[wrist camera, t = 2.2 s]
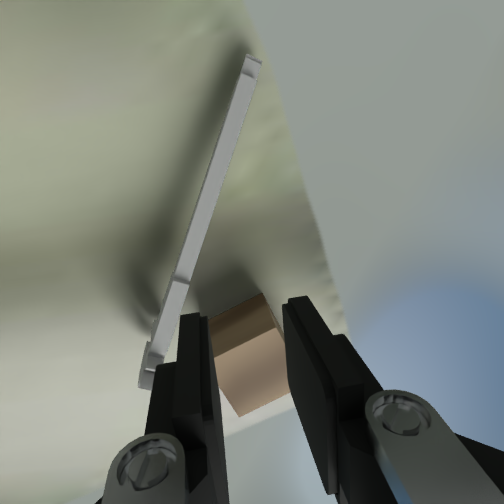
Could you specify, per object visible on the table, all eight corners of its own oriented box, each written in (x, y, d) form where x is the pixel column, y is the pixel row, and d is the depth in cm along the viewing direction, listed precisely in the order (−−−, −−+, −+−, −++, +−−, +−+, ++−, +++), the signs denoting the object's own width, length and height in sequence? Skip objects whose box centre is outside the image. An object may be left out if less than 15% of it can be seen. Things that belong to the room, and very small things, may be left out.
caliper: (159, 348, 27) (150, 411, 21) (144, 344, 27) (131, 407, 21) (261, 61, 21) (287, 40, 16) (244, 53, 21) (264, 29, 15)
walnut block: (202, 322, 27) (203, 363, 23) (262, 292, 27) (276, 327, 23) (232, 370, 29) (239, 417, 24) (288, 342, 29) (306, 384, 24)
